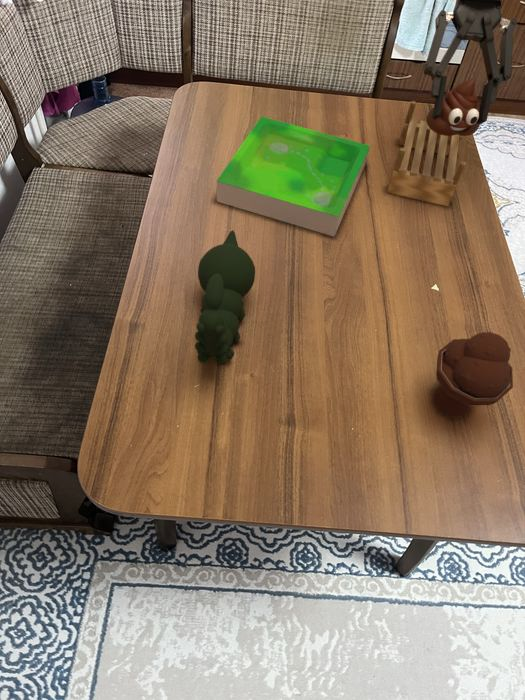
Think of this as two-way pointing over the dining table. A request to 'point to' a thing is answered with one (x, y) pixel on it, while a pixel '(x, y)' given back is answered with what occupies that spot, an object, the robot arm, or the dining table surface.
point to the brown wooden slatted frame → (425, 163)
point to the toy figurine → (222, 299)
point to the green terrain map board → (293, 175)
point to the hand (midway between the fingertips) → (459, 119)
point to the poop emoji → (457, 111)
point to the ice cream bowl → (473, 373)
